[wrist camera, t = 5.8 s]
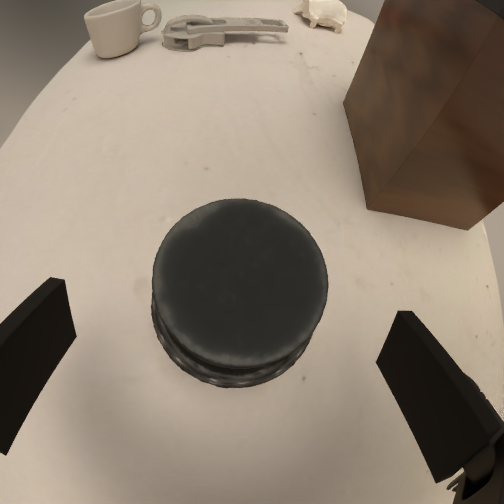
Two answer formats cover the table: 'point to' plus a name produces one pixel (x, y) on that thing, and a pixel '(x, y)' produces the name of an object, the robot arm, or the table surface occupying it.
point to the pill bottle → (237, 292)
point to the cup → (118, 26)
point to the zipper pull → (211, 30)
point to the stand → (431, 111)
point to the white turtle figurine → (323, 13)
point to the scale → (494, 6)
